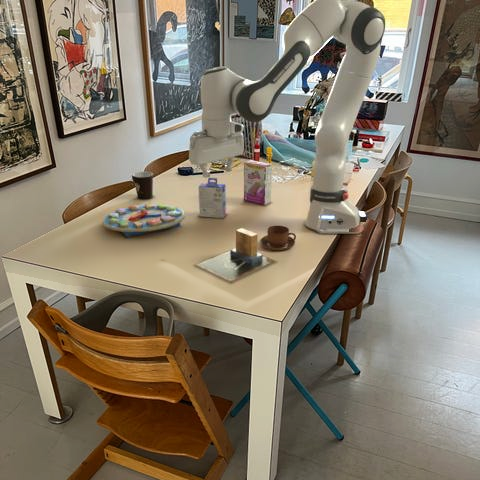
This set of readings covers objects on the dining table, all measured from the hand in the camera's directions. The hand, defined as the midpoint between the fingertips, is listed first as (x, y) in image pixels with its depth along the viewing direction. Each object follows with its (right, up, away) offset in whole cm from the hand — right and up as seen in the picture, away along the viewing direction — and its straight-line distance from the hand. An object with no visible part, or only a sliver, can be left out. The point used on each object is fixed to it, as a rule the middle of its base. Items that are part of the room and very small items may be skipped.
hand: (217, 174), depth 151 cm
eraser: (+9, -26, +6) cm, 28 cm away
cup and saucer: (+20, -21, +15) cm, 33 cm away
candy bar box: (+15, +4, +54) cm, 56 cm away
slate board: (+6, -28, +3) cm, 29 cm away
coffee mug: (-35, +8, +60) cm, 70 cm away
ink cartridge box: (-4, -4, +40) cm, 41 cm away
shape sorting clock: (-29, -10, +32) cm, 45 cm away
